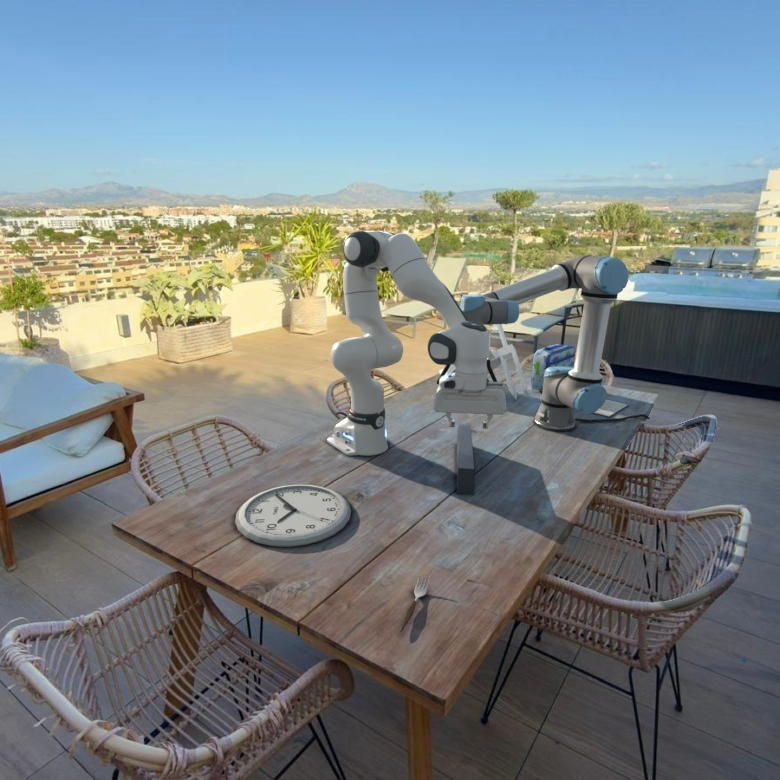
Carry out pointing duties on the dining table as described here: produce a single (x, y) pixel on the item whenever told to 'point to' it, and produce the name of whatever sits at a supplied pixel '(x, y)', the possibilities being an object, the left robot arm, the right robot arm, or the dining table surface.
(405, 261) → the left robot arm
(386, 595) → the dining table surface
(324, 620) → the dining table surface
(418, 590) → the fork
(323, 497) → the wall clock
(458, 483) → the beam
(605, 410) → the invitation card
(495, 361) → the white plastic object
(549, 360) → the lunch box
